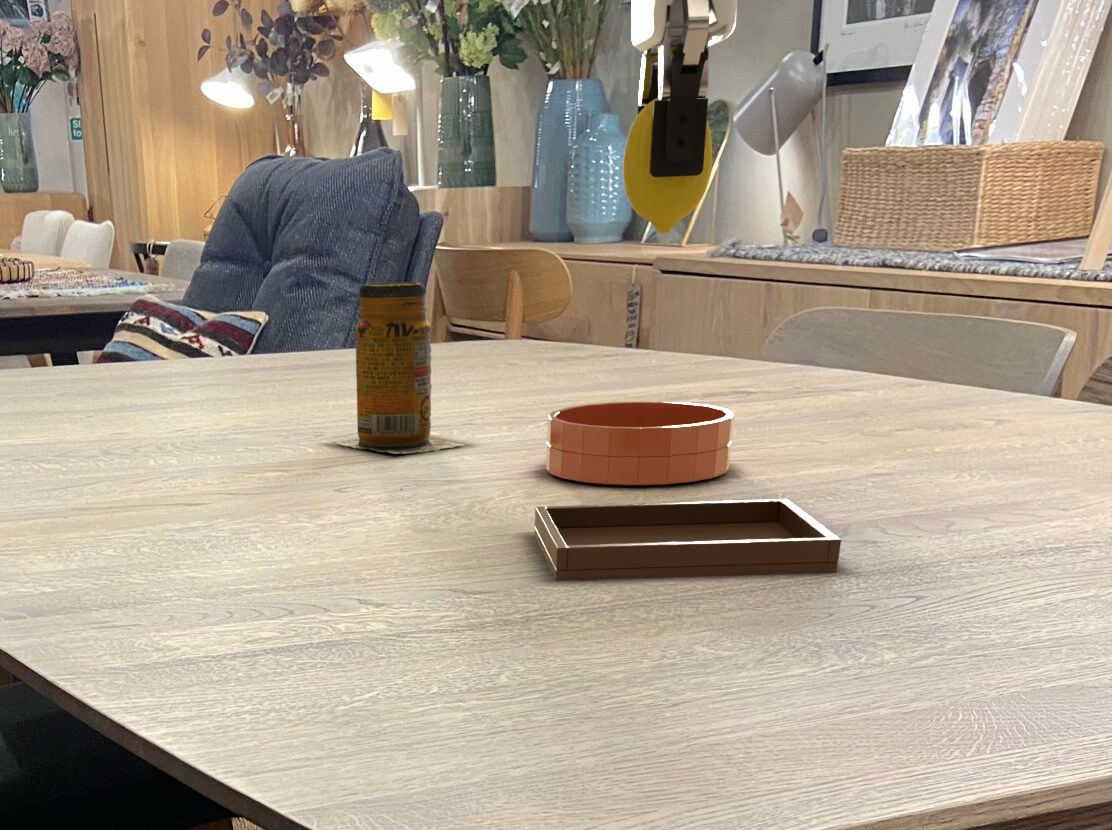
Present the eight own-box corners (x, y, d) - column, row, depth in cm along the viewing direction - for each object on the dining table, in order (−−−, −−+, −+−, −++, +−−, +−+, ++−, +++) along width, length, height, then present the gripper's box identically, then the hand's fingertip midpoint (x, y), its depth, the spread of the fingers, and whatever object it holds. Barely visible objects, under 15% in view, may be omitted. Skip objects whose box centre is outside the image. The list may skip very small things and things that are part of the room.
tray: (784, 529, 88) (787, 498, 87) (836, 573, 78) (841, 539, 77) (534, 537, 88) (535, 506, 87) (555, 582, 78) (557, 548, 77)
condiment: (404, 435, 123) (402, 279, 117) (466, 447, 117) (467, 282, 111) (333, 445, 120) (328, 285, 114) (394, 458, 114) (391, 289, 108)
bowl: (706, 454, 111) (711, 399, 109) (745, 486, 100) (752, 424, 98) (537, 460, 111) (539, 404, 109) (557, 492, 100) (560, 430, 98)
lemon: (613, 234, 95) (619, 92, 92) (697, 231, 95) (707, 88, 91) (627, 237, 91) (634, 87, 87) (715, 233, 91) (726, 82, 87)
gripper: (791, -229, 75) (757, 172, 84) (723, -160, 90) (700, 175, 99) (646, -221, 75) (627, 178, 84) (602, -154, 90) (590, 180, 99)
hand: (667, 173), depth 91 cm, fingers closed on lemon, 5 cm apart
